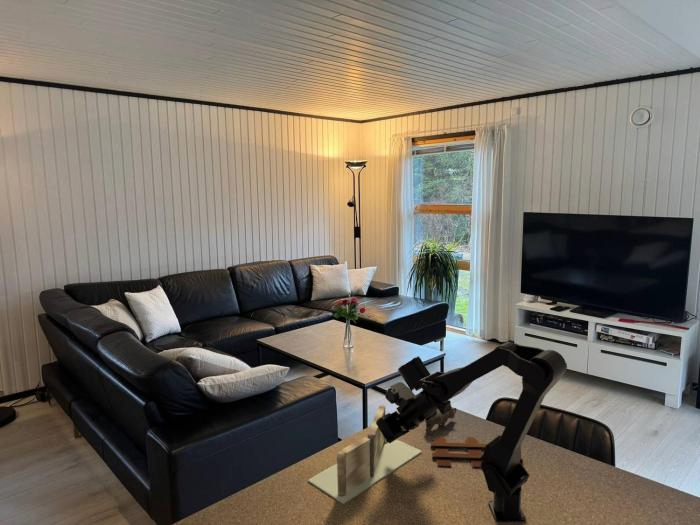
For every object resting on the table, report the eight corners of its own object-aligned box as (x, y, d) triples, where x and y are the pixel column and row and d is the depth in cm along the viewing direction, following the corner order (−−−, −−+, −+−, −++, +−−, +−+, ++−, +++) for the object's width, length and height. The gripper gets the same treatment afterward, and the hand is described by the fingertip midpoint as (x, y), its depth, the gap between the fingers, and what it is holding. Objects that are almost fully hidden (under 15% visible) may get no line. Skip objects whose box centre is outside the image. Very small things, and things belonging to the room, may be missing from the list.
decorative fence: (526, 472, 123) (512, 441, 137) (526, 466, 122) (512, 435, 137) (433, 469, 125) (429, 439, 139) (433, 463, 124) (429, 433, 139)
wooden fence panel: (341, 497, 113) (340, 454, 111) (336, 494, 114) (335, 451, 112) (375, 475, 121) (375, 435, 119) (370, 472, 122) (369, 432, 120)
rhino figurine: (462, 421, 148) (462, 403, 147) (431, 436, 139) (431, 417, 138) (451, 416, 151) (451, 398, 150) (420, 431, 143) (420, 412, 142)
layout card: (343, 504, 111) (343, 502, 111) (308, 481, 120) (308, 479, 120) (421, 452, 131) (421, 450, 131) (386, 436, 140) (386, 434, 140)
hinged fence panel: (375, 472, 122) (374, 434, 120) (368, 471, 122) (367, 434, 120) (386, 439, 137) (385, 405, 135) (379, 438, 137) (379, 405, 136)
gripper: (427, 366, 130) (396, 394, 139) (381, 388, 117) (350, 417, 126) (452, 403, 125) (418, 428, 135) (407, 429, 112) (373, 456, 122)
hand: (390, 431), depth 129 cm, fingers closed
